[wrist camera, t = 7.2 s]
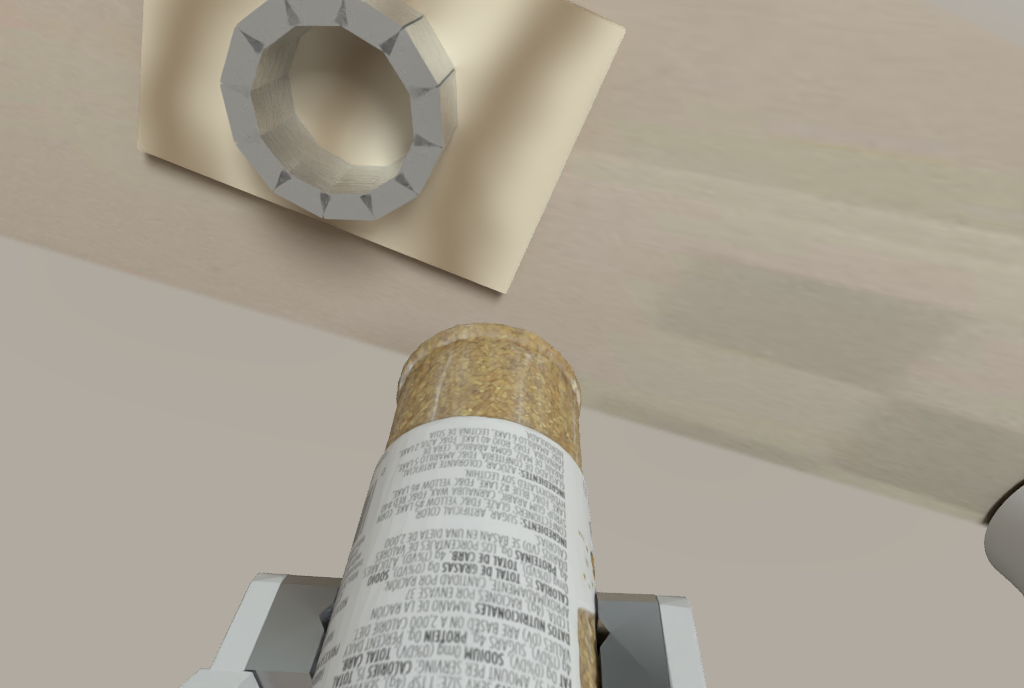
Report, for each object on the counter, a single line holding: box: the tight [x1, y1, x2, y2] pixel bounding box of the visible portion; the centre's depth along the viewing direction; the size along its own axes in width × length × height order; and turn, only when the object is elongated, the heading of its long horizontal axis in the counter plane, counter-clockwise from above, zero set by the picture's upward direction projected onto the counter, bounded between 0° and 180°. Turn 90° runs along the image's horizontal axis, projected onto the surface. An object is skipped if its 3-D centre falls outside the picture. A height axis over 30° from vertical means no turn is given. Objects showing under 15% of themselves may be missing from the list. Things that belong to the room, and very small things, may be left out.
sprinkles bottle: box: [310, 323, 600, 688], centre depth 10 cm, size 5×5×13 cm
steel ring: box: [220, 0, 458, 220], centre depth 27 cm, size 9×9×4 cm
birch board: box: [137, 0, 626, 294], centre depth 29 cm, size 20×14×1 cm
